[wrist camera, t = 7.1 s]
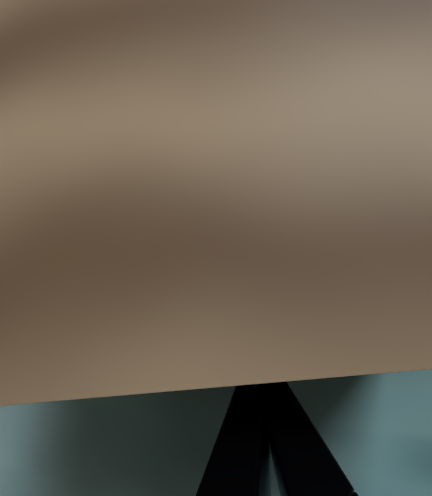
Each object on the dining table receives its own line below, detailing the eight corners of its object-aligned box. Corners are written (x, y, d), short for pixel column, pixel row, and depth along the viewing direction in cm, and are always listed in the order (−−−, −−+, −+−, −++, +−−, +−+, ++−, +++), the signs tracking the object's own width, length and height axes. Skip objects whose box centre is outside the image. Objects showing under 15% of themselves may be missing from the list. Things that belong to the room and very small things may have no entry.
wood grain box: (389, 337, 14) (675, 348, 4) (144, 361, 16) (-60, 410, 6) (322, 68, 19) (391, -230, 9) (136, 104, 20) (13, -120, 10)
